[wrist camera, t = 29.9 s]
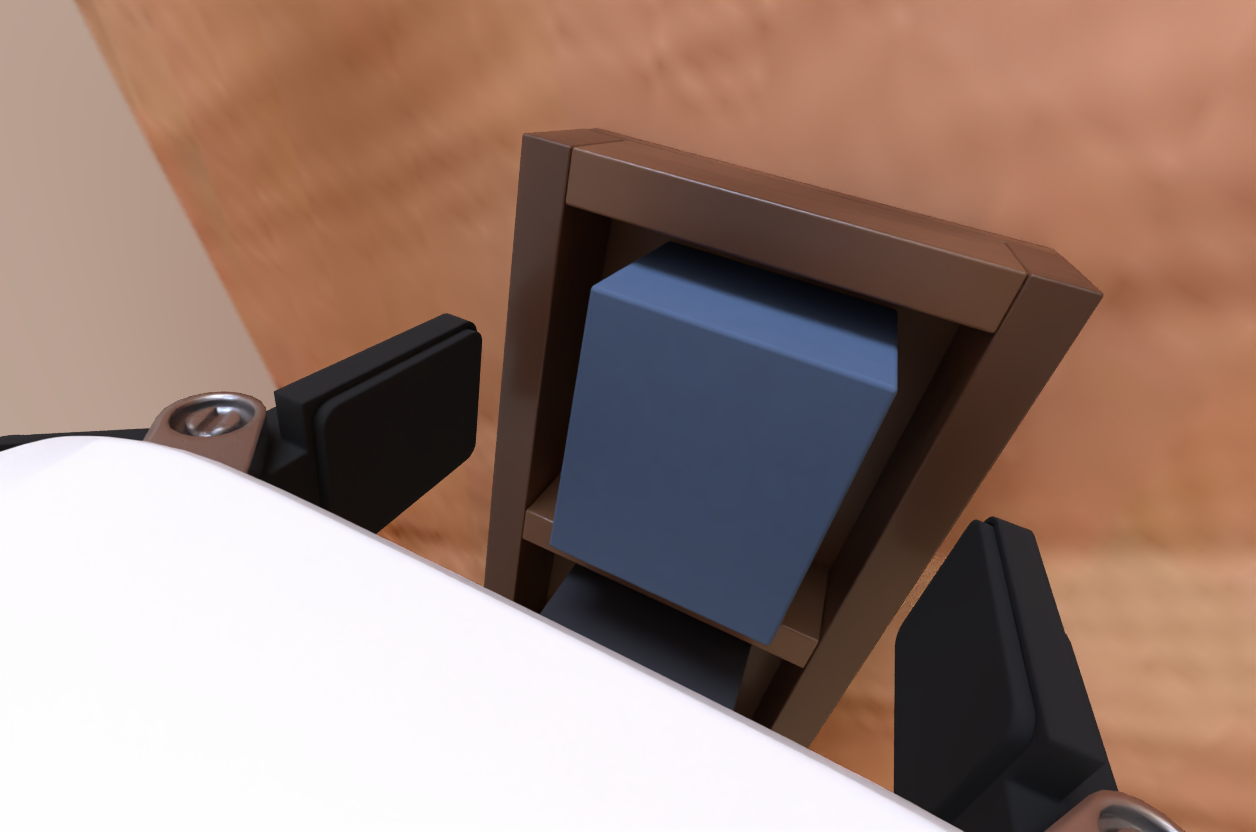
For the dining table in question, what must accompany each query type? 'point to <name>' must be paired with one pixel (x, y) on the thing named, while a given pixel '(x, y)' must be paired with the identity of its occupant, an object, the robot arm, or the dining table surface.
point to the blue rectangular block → (718, 430)
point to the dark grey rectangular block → (651, 634)
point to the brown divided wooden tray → (812, 253)
